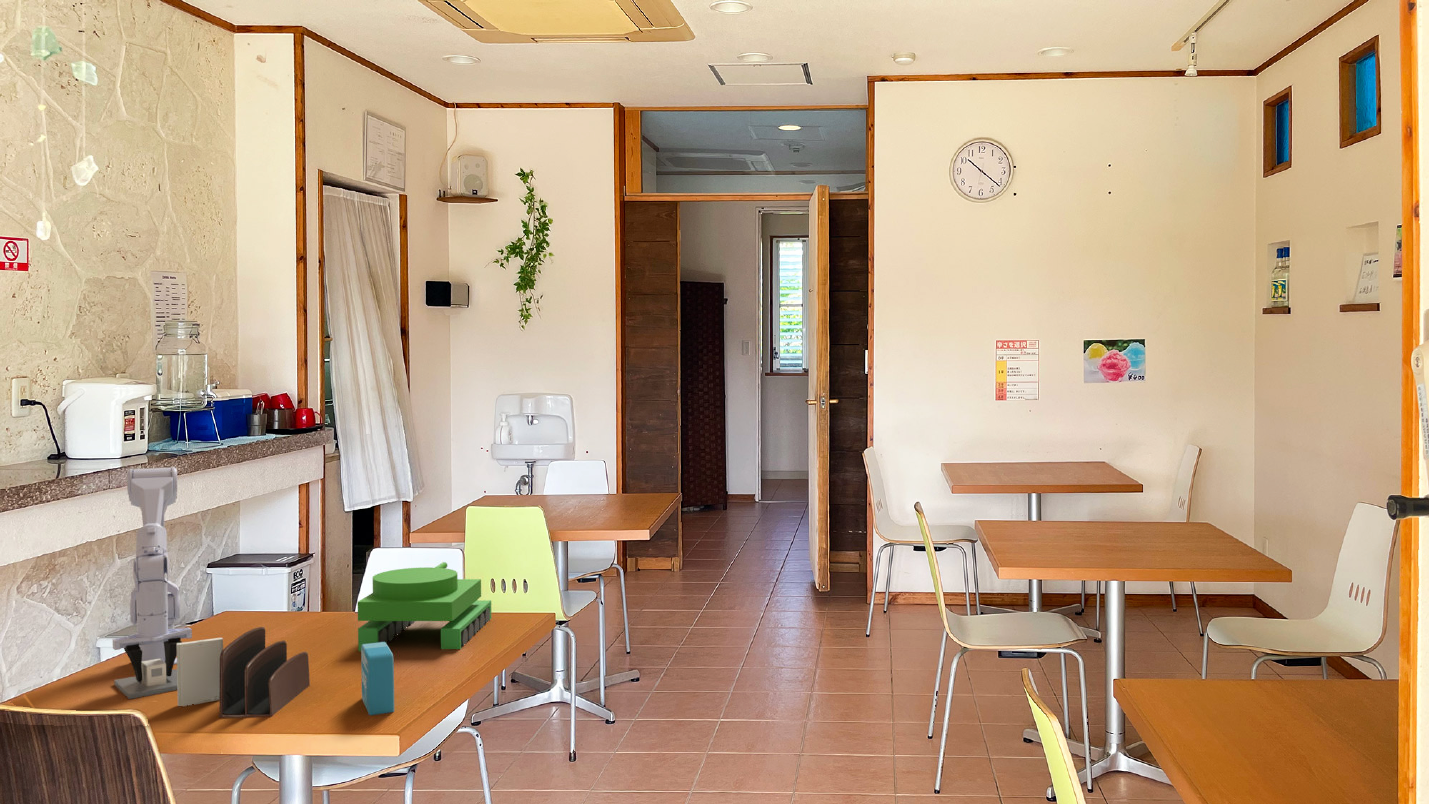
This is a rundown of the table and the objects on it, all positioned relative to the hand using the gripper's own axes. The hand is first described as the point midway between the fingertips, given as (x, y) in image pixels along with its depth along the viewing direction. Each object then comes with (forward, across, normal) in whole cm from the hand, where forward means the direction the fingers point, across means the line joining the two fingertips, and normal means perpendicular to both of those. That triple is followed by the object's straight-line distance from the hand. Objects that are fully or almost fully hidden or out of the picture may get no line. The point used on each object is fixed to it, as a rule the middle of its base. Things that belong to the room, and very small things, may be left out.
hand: (153, 677), depth 221 cm
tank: (+2, +62, 0) cm, 62 cm away
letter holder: (+2, +14, -28) cm, 31 cm away
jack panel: (+2, +6, 0) cm, 6 cm away
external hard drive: (+2, +4, -19) cm, 20 cm away
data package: (+2, +28, -46) cm, 54 cm away
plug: (+2, 0, 0) cm, 2 cm away
